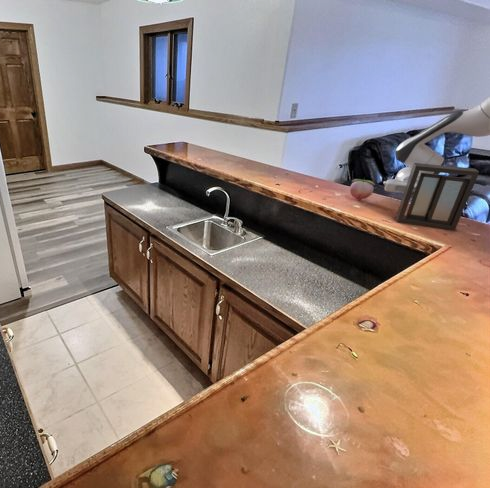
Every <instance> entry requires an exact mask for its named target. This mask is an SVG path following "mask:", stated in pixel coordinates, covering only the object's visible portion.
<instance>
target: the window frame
mask: <svg viewBox="0 0 490 488" xmlns="http://www.w3.org/2000/svg"><path fill="white" fill-rule="evenodd" d="M419 170H420V171H430V172H440V173H441V174H450V176H448V175H445V176H443V177H442V179H441V182H440V185H439V187H438V190H437V193H436V195H435V198H434V201H433V203H432V206H431V209H430V211H429V214H428V217H427V219H426V220H425V219H418V218H411V217H406V215H407V214H406V213H407V212H406V211H407V210H408V209H407V208H408V206H409V202H410V201H411V197H412V196H411V194H412V191H413V188H414V185H415V182H416V179H417V176H418V174H419ZM440 173H439V174H440ZM479 174H480V171H479V170H477V169H476V168H472V167H461V166H451V165H444V166H442V165H431V164H420V163H414V164H413V167H412V170H411V173H410V176H409V179H408V182H407V185H406V188H405V191H404V194H403V193H402V197H401V200H400V202H399V206H398V209H397V212H396V216H395V220H396V222H397V223H400V224H405V225H406V224H407V225H413V226H421V227H426V228H435V229H439V230H440V229H441V230H447V231H456V229H457V226H458V224H459V222H460V220H461V218H462V215H463V212H464V210H465V207H466V205H467V202H468V200H469V198H470V196H471V193H472V191H473V189H474V187H475V184H476V181H477V179H478V177H479ZM451 175H461V176H465V177H459V176H458V177H457V176H451Z"/></svg>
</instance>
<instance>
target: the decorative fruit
mask: <svg viewBox="0 0 490 488" xmlns="http://www.w3.org/2000/svg"><path fill="white" fill-rule="evenodd" d="M374 186H376V183H374V182H373V181H372V180H367V179H365V177H363V179H361V178H355V179H353V180H351V184H350V186H349V193H350V195H351V196H352V197H353V198H355V199H356V200H358V201H361V200H364V199H367V198H369V197H371V196H372V195H373V193H374Z"/></svg>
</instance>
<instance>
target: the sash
mask: <svg viewBox="0 0 490 488" xmlns="http://www.w3.org/2000/svg"><path fill="white" fill-rule="evenodd" d="M443 176H446V175H445V174H440V173H439V174H429V173H421V174H420V177H419V180H418V183H417V186H416V189H415V191H414V194H413V196H411V197H412V198H411V199H410V204H409V205H408V206H409V207H408V209H407V212H406V214H405V215H406V217H411V218H418V219H425V220H426V219H427V217H428V214H429V211H430V209H431V206H432V203H433V201H434V198H435V195H436V193H437V190H438V187H439V185H440V182H441V179H442V177H443Z"/></svg>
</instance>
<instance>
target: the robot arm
mask: <svg viewBox="0 0 490 488" xmlns="http://www.w3.org/2000/svg"><path fill="white" fill-rule="evenodd" d="M445 133H454V134H455V133H456V134H462V135H466V136H468V137H474V138H475V137H477V138H478V137H479V138H480V137H481V138H482V137H488V136H490V96H489V97H487V98H485V100H483V101H482V102H481V103H479V104H478V105H476V106H475V107H472V108H470V109H468V110H464V111H461V110H457V111H455V112H453V113H451V114H448V115H447V116H445V117H443V118H441V119H439V120H438V121H436V122H435V123H433V124H432V125H430V126H428V127H426V128H425V129H424V130H422V131H420V132H418V133H417V134H415V135H413V136H411V137H409V138H407V139H405V140H404V141H402V142H401V143H399V145H398V146H397V147H396V148H395V151H394V156H395V160H397V161H398V162H400V163H402V164H404V165H406V167H403V168H401V169H400V170H399V171H398V172H397V174H396V177H395V179H394V178H393V179H392V178H391V179H390V178H389V179H387V180H384V181H383V182H382V183H383V185H384V191H385V192H388V193H397V194H402V195H403V194H404V191H405V188H406V185H407V182H408V179H409V176H410V173H411V170H412V167H413V164H414V163H420V164H431V165H442V166H445V164H446V163H445V162H446V160H445V157H444V156H442V155H441V154H439V153H438V152H436V151H435V150H433V149H432V148H430V147H429V146H428V145H426V143H429V141H432V140H434V139H435V138H436V137H438V136H440V135H442V134H445ZM421 173H429V174H439V175H440V172H430V171H420V170H419V174H418V176H417V179H416V182H415V185H414V188H413V191H412V194H411V197H413V194H414V191H415V189H416V186H417V183H418V180H419V177H420V174H421Z"/></svg>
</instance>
